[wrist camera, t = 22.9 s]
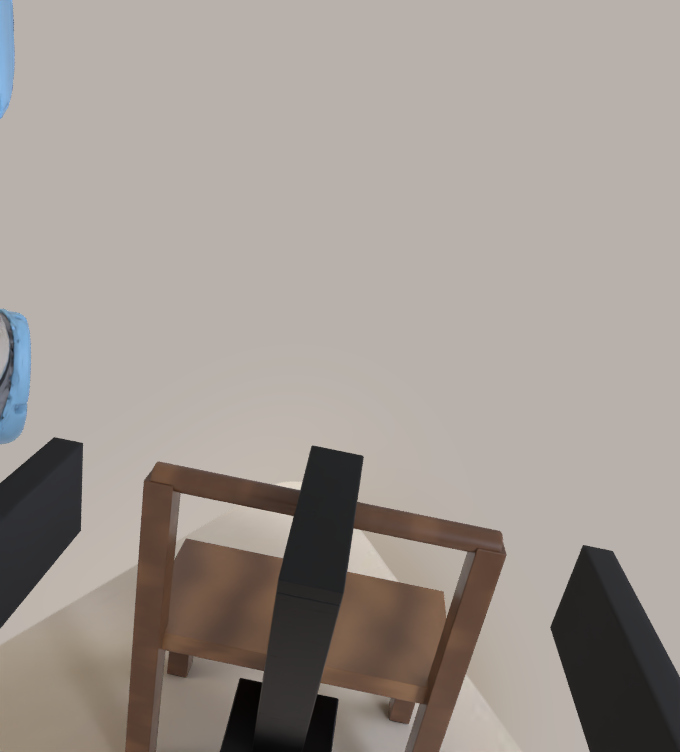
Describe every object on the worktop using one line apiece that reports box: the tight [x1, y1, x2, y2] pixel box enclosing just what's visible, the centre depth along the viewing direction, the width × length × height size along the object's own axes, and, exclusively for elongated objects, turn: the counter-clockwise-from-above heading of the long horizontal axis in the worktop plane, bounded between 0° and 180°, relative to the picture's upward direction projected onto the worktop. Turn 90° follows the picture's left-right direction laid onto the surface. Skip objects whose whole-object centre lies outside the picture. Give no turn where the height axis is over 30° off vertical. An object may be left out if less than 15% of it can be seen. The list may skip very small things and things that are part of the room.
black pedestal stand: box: [220, 446, 364, 752], centre depth 36 cm, size 11×7×20 cm, turn 175°
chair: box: [125, 462, 506, 752], centre depth 41 cm, size 20×10×24 cm, turn 85°
